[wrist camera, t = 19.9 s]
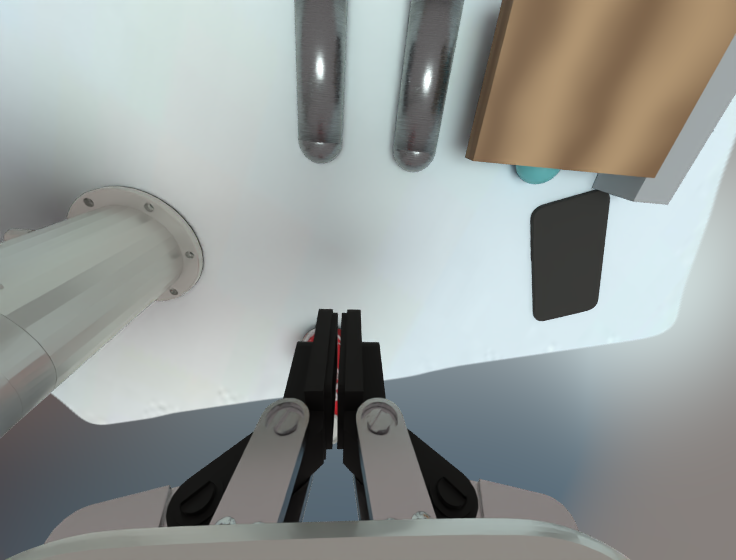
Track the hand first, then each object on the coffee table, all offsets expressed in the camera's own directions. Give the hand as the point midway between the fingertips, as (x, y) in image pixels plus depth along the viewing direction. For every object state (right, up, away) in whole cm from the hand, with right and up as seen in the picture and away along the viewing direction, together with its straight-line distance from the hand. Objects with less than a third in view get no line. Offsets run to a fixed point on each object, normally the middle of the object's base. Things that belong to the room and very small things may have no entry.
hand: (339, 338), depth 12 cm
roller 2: (+6, +19, +12) cm, 23 cm away
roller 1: (-2, +19, +11) cm, 23 cm away
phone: (+23, +5, +21) cm, 31 cm away
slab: (+16, +16, +9) cm, 24 cm away
